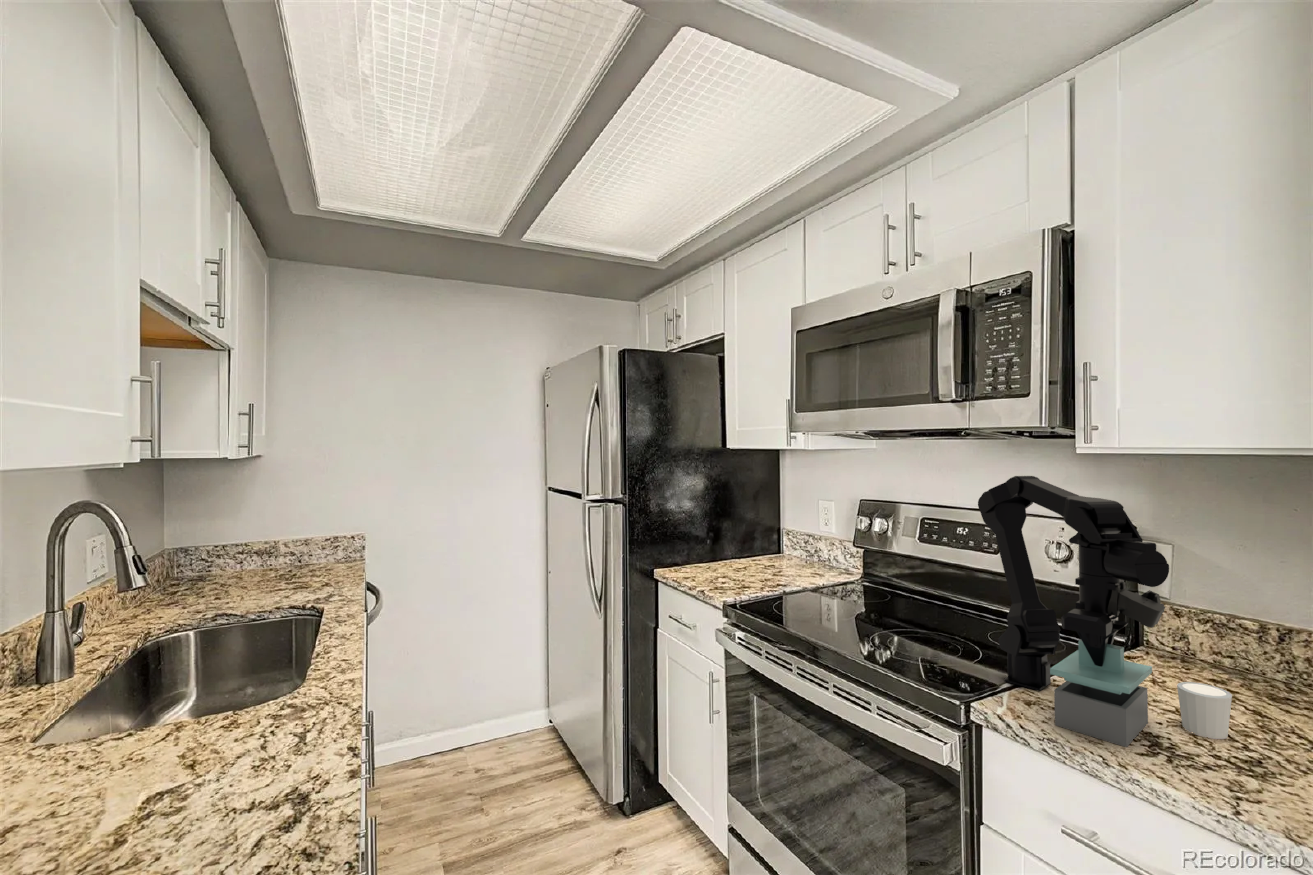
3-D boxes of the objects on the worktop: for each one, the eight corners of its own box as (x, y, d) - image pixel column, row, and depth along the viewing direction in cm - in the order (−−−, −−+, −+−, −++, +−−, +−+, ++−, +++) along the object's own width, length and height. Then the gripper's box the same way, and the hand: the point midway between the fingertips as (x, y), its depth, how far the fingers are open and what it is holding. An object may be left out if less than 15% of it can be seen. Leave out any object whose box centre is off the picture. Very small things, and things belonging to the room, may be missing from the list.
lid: (1050, 680, 104) (1049, 645, 104) (1077, 660, 113) (1076, 628, 113) (1129, 700, 95) (1128, 662, 95) (1152, 678, 104) (1151, 643, 104)
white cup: (1216, 724, 104) (1215, 683, 104) (1243, 743, 97) (1242, 699, 97) (1169, 719, 105) (1168, 679, 105) (1192, 738, 99) (1191, 695, 99)
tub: (1054, 725, 104) (1054, 689, 104) (1079, 703, 112) (1079, 671, 112) (1126, 747, 96) (1126, 709, 96) (1148, 722, 104) (1147, 687, 104)
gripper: (1143, 590, 92) (1145, 693, 92) (1172, 573, 104) (1174, 664, 104) (1059, 578, 101) (1061, 672, 100) (1095, 563, 112) (1096, 647, 112)
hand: (1100, 664), depth 104 cm, fingers closed on lid
